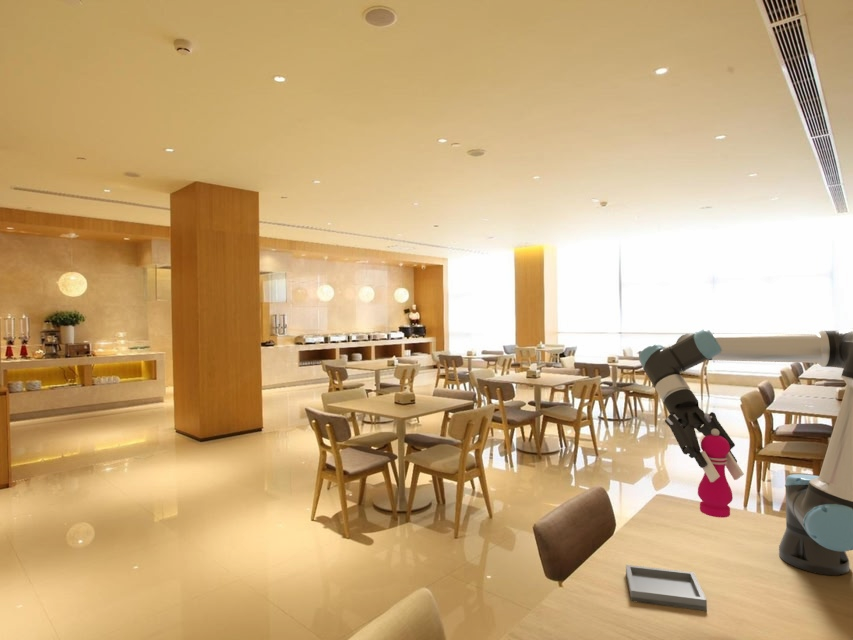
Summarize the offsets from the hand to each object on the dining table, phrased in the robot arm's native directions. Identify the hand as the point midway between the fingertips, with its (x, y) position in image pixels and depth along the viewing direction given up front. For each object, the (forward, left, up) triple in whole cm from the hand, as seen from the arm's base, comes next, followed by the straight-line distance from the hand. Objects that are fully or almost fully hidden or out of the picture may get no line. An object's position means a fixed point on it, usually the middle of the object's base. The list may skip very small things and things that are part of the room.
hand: (727, 478), depth 117 cm
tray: (+13, -3, -30) cm, 33 cm away
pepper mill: (+2, -3, -10) cm, 10 cm away
